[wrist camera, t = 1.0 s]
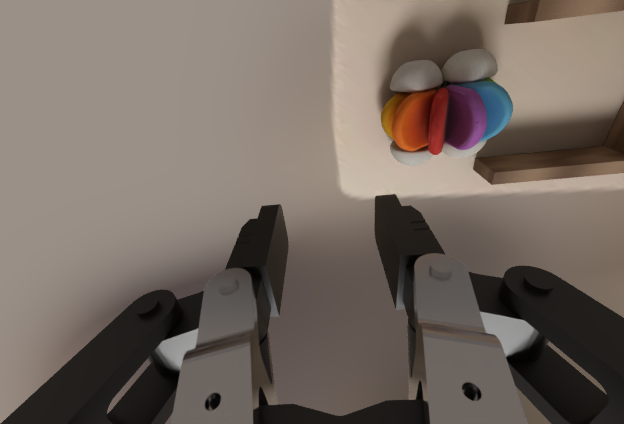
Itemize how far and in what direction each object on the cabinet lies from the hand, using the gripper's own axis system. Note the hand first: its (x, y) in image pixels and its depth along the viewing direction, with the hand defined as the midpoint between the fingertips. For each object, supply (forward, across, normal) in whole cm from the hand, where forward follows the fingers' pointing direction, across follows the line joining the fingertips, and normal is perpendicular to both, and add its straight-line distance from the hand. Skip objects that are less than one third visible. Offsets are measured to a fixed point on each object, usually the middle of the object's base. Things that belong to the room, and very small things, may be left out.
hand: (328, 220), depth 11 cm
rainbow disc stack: (+18, -10, 0) cm, 20 cm away
